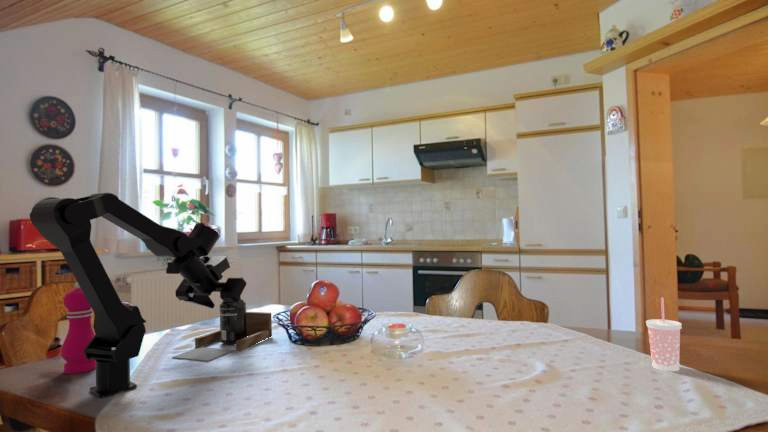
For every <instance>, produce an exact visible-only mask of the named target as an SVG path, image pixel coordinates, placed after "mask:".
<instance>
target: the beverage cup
mask: <svg viewBox="0 0 768 432" xmlns="http://www.w3.org/2000/svg"><path fill="white" fill-rule="evenodd" d="M660 304H661V305H660V306H661V308H660V309H661V318H660V319H659V318H657V319H656V318H655V319H654V318H653V319H648V320H647V319H646V320H645V324H646V327H647V330H648V331H647V332H648V342H649V347H650V355H651V356H650V358H651V364H652V365H651V367H652V368H654V369H656V370H658V371H659V370H660V371H665V372H677V371H680V351H681V349H680V347H681V330H682V323H681V322H679V321H677V320H670V319H665V317H666V316H665V299H664V297H663V296H662V297H660Z"/></svg>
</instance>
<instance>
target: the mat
mask: <svg viewBox="0 0 768 432" xmlns="http://www.w3.org/2000/svg"><path fill="white" fill-rule="evenodd" d="M234 351H235V349H228V348H217V347H207V346H206V347H205V346H203V347H198V348H194V349H190V350H188V351H185V352H182V353H180V354H177V355H174V356H172V357H171V358H172V359H175V360H176V359H177V360H185V361H186V360H187V361H197V362H206V363H208V362H211V361H214V360H216V359H218V358H220V357H223V356H225V355H228V354H230V353H233V352H234Z"/></svg>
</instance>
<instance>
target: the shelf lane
mask: <svg viewBox="0 0 768 432" xmlns="http://www.w3.org/2000/svg"><path fill="white" fill-rule="evenodd" d="M246 323H247V336H248V337H245V338H242V339H240V340H237V341H236V345H235V352H242V351H244V350H246V349H249V348H251V347H253V345H254V346H255V344H256V343H258V342H260V341H262V340H265V339H266V338H269V337H271V336H272V337H273V334H272V333H273V329H272V323H273V322H272V312H265V311H263V312H262V311H261V312H260V311H246ZM218 340H219V341H220V329H218V330H214V331H212V332H209V333H206V334H202V335H200V336H197V337H194V349H196V348H198V347H205V346H208V345H210V344H213V342H214V343H216V342H219V341H218ZM265 341H266V340H265ZM258 344H259V343H258ZM256 345H257V344H256Z"/></svg>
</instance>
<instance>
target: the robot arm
mask: <svg viewBox="0 0 768 432" xmlns="http://www.w3.org/2000/svg"><path fill="white" fill-rule="evenodd" d="M100 217H101V218H103V219H105V220H106V221H107V222H110V223H111V224H113V225H114V226H116V227H119V228H120V229H122V230H124V231H126V232H127V233H129V234H131V235H133V236H134V237H136V238H138V239H140V241H142V242H143V243H144V245H145V248H146V249H148V250H149V251H150V252H151V253H152V254H153V255H154V256H156V257H158V258H172V260H171V261H169V262H167V266H166V269H165V270H166V271H165V273H166V274H168V275H180V276H181V277H182V278H183V279H182V280H181V282H180V283H179V285H178V286H177V288H176V290H175V291H174V292H175V298H177V300H179V301H183V302H185V303H191V304H195V305H198V306H201V307H205V308H209V309H214V308H215V306H216V305H215V303H214V301H213V300H212V299H211V297H210V296H211V295H212V293H215V292H216V293H219V298H220V299H221V301H222V300H223V301H225V302H224V303H226V304H228V305H230V306H232V307H235V308H237V309H239V310H241V309H242V301H241V297H242V296H241V295H242V293H243V292H244V290H245V288H246V286H247V281H246V280H245V279H244V277H240V276H239V277H237V276H236V277H235V276H234V277H233V276H232V277H231V276H230V277H228V278H227V279H226V281H225V282H224V281H223V282H222V279H223V277H224V275H223V274H224V272H226V271H227V270H228V269H230V268H231V266H230V262H229V260H228V257H227V256H226V255H214V256H210V257H209V254H210V252H211V251H212V249H213V248H214V246H215V245H216V243H217V242H218V240H219V238H220V234H219V232H218V231H217V230H215V229H214V228H212V227H210V226H207V225H205V223H203V222H196V224H195V225H194V226H193V228H192V230H191V232H190V233H189V234H188V235H187V233H185V232H183V231H181V230H179V229H176V228H172V227H168V226H165V225H164V226H163V225H161V224H159V223H157V222H155V221H154V220H152V219H151V218H150V217H148V216H146V215H144V214H143V213H141V212H140V211H138V210H137V209H135V208H134V207H132V206H130V205H129V204H128V203H126V202H124V201H123V200H121V199H120V198H119V197H118V196H117V195H116V194H114V193H112V192H100V193H92V194H90V195H87V196H84V197H78V198H77V197H76V198H70V197H63V198H55V199H54V198H53V199H50V198H49V199H44V200H40V201H39V202H36V203H35V204H34V206H33V207H32V208H31V211H30V213H29V220H30V222H31V224H32V225H33V226H34V228H35V229H36V231H38V233H39V234H40V235H41V236H42V238H43V239H44V240H46V241H47V242H49V243H50V244H51V245H53V246H54V247H55V248H57V249H58V251H60V253H61V254H62V256H63V258H64V260H65V262H66V264H67V266H68V269H70V271H71V273H72V275H73V276H74V279H75V280H76V283H77V282H78V284H79V286H80V288H81V290H82V291H83V293H84V295H85V297H86V299H87V301H88V302H89V304H90V306H91V308H92V310H93V311H92V313H93V315H94V316H93V318H94V319H93V323H92V324H93V326H92V329H93V332H94V334H95V336H94V337H93V339H92V340H91V341H90V343H89V344H88V345H87V346H86V348H85V349H84V354H85V356H86V359H88V360H90V359H93V360H96V368H95V386H92V387H89V392H91V393H92V394H94V395H95V396H97V397H98V398H105V397H108V396H110V395H115V394H119V393H122V392H126V391H130V390H134V389H137V387H138V384H136V383H135V382H133V381H131V366H130V365H131V364H130V363H131V359H133V358H137V357H139V355H140V351H141V347H142V344H143V341H144V337H145V334H146V333H147V332H146V329H147V328H146V326H145V323H146V322H147V320H146V319H145V318H143V316H142V314H141V311H140V310H141V309H140V308H139V307H138V305H127V304H124V303H123V302H122V300H121V298H120V296H119V294H118V292H117V290H116V289H115V287H114V285H113V282H112V280H111V279H110V277H109V275H108V272H107V271H106V269H105V267H104V265H103V263H102V261H101V259H100V256H99V255H98V254H97V251H96V249H95V247H94V245H93V243H92V241H91V232H92V223H91V221H92V220H95V219H98V218H100ZM220 280H221V281H220ZM113 348H114V349H113Z"/></svg>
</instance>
